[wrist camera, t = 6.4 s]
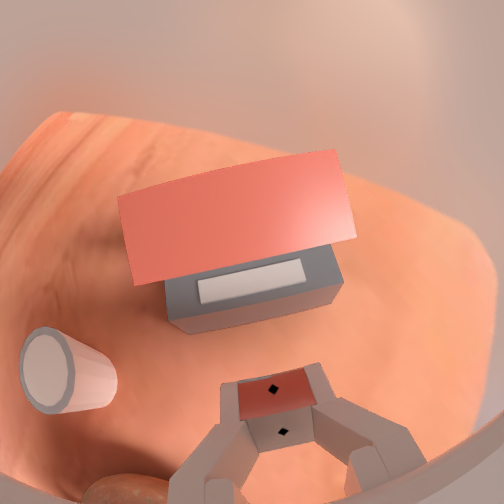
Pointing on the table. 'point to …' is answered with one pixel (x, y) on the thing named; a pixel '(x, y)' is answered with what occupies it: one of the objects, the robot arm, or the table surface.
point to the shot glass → (64, 373)
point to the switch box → (253, 290)
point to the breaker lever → (235, 216)
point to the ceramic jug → (127, 490)
